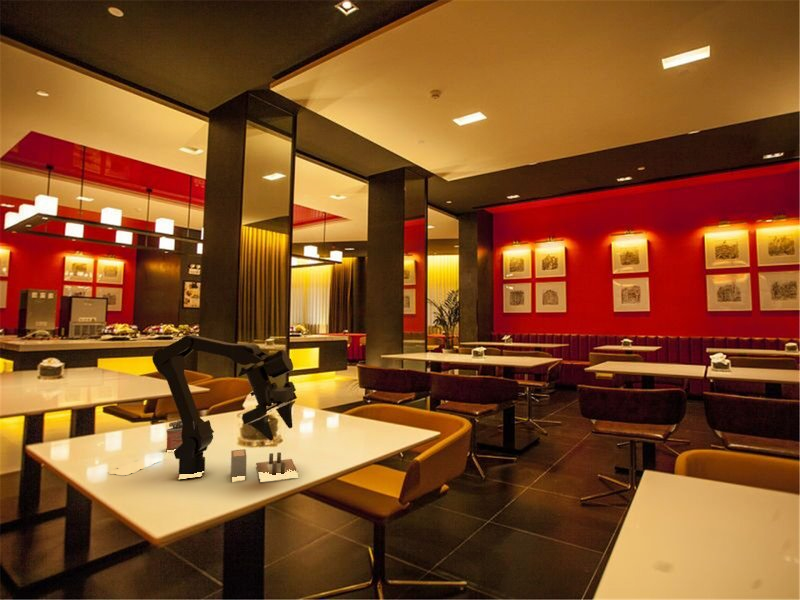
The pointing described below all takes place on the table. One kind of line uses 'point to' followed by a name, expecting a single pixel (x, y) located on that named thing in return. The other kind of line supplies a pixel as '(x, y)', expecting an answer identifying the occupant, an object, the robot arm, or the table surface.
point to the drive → (238, 463)
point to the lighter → (174, 435)
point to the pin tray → (276, 465)
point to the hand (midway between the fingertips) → (281, 433)
